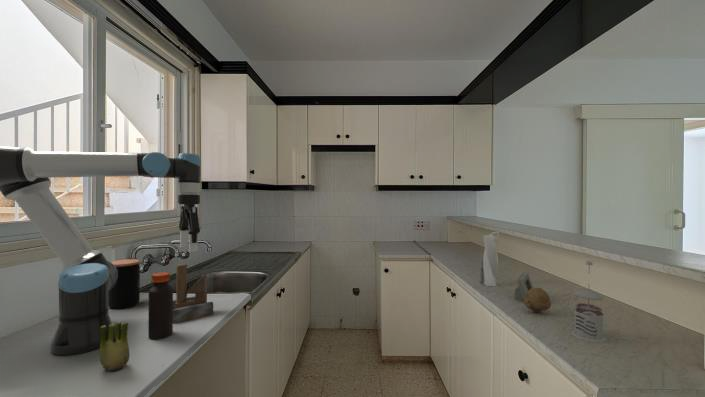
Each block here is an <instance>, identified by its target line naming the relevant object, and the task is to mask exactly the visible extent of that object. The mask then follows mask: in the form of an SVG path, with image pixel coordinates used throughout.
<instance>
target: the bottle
mask: <svg viewBox="0 0 705 397" xmlns="http://www.w3.org/2000/svg"><path fill="white" fill-rule="evenodd" d="M170 279H171V278H170V273H169V272H166V271H165V272H157V273H154V274H152V275H151V282H152V287H151V288H150V289H149V290H148V319H147V320H148V324H147V325H148V330H147V331H148V338H149V340H161V339H165V338H168V337H170V336H171V335H172V334H173V332H174V331H173V330H174V326H173V324H174V323H173V300H174V297H173V296H174V291H173V290H174V288H173V286H171V285H170V284H169V282H170Z"/></svg>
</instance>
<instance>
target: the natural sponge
mask: <svg viewBox="0 0 705 397" xmlns="http://www.w3.org/2000/svg"><path fill="white" fill-rule="evenodd" d="M523 302H524V303H523V304H524V306H525V307H526V308H528V309H530V310H531V311H532V312H534V313H539V314H540V313H542V312H543V311H547V310H548V309H550V308H551V306H552V300H551V298H550V296H549V294H548V292H546V290H544V289H543V288H541V287H533V288H531V289H530V290H529V291H528V292H527V294H526V297H525V300H524V301H523Z"/></svg>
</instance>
